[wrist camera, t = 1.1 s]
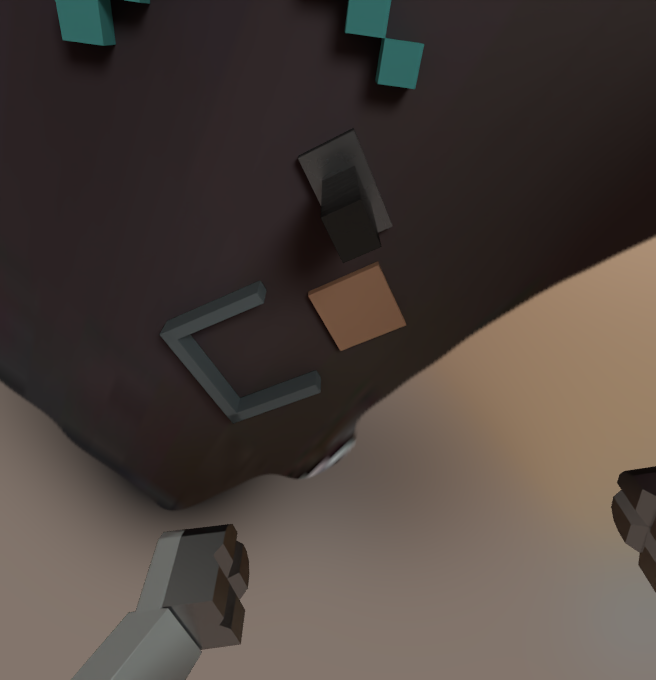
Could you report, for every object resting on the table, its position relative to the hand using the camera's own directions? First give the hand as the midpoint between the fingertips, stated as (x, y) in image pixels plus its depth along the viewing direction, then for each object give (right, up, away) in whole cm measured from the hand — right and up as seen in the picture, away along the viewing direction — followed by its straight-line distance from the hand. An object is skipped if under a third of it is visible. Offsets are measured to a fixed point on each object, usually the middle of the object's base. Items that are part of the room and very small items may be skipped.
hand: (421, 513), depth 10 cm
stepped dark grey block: (-1, +14, +22) cm, 26 cm away
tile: (0, +7, +28) cm, 29 cm away
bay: (-9, +3, +30) cm, 31 cm away
